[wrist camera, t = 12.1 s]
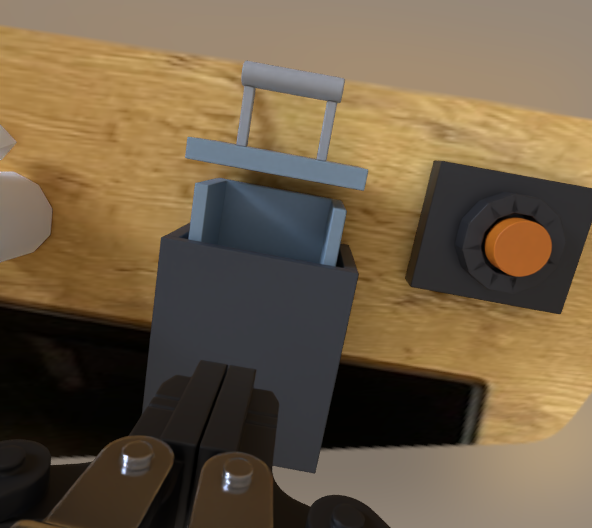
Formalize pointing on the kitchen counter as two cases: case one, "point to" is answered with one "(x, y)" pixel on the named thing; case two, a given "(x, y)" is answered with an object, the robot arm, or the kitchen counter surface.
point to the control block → (477, 223)
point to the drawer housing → (255, 329)
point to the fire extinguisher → (20, 210)
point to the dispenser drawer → (271, 201)
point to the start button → (518, 246)
